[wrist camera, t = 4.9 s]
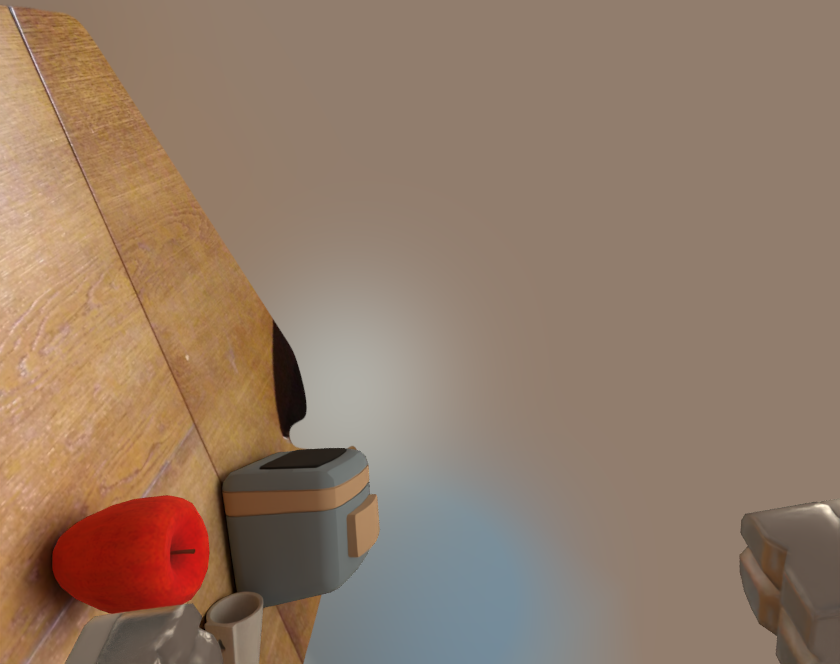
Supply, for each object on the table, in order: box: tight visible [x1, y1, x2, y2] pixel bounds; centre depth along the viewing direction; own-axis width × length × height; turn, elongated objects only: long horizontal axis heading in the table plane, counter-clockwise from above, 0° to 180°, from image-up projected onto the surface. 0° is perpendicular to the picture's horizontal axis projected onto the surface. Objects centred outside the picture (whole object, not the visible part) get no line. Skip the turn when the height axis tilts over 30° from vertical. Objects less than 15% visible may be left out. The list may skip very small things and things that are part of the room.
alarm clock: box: [222, 448, 379, 608], centre depth 78 cm, size 16×16×16 cm
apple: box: [52, 495, 209, 614], centre depth 48 cm, size 9×9×11 cm
